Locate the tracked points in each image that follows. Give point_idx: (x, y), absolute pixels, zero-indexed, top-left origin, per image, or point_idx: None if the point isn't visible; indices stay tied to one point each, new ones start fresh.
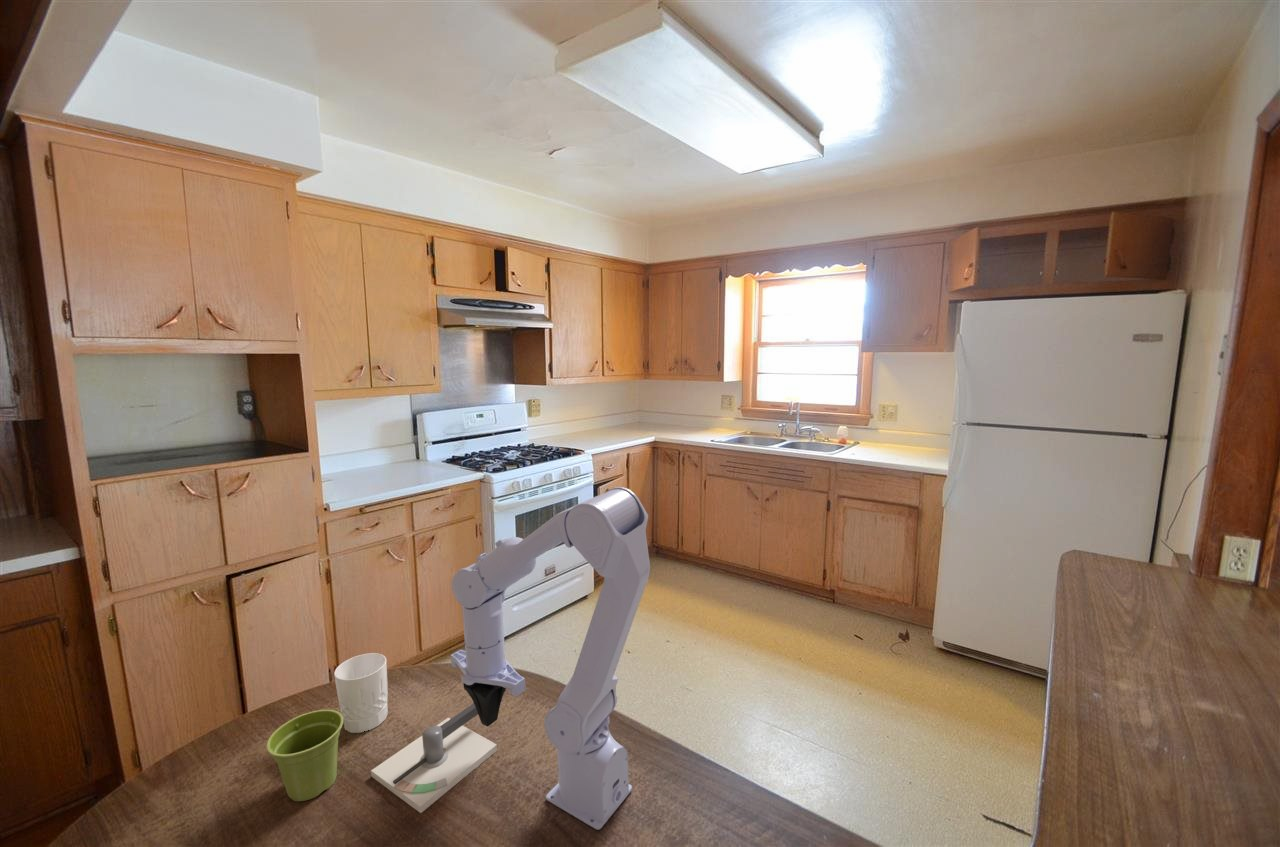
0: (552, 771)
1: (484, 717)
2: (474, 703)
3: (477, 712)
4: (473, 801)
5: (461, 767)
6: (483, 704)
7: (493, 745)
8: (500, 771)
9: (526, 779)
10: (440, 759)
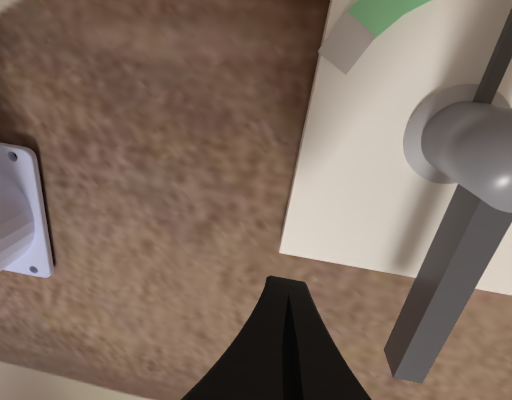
0: (95, 231)
1: (268, 302)
2: (342, 364)
3: (397, 330)
4: (209, 59)
5: (324, 139)
6: (236, 371)
7: (286, 246)
8: (217, 184)
9: (132, 187)
10: (423, 135)
